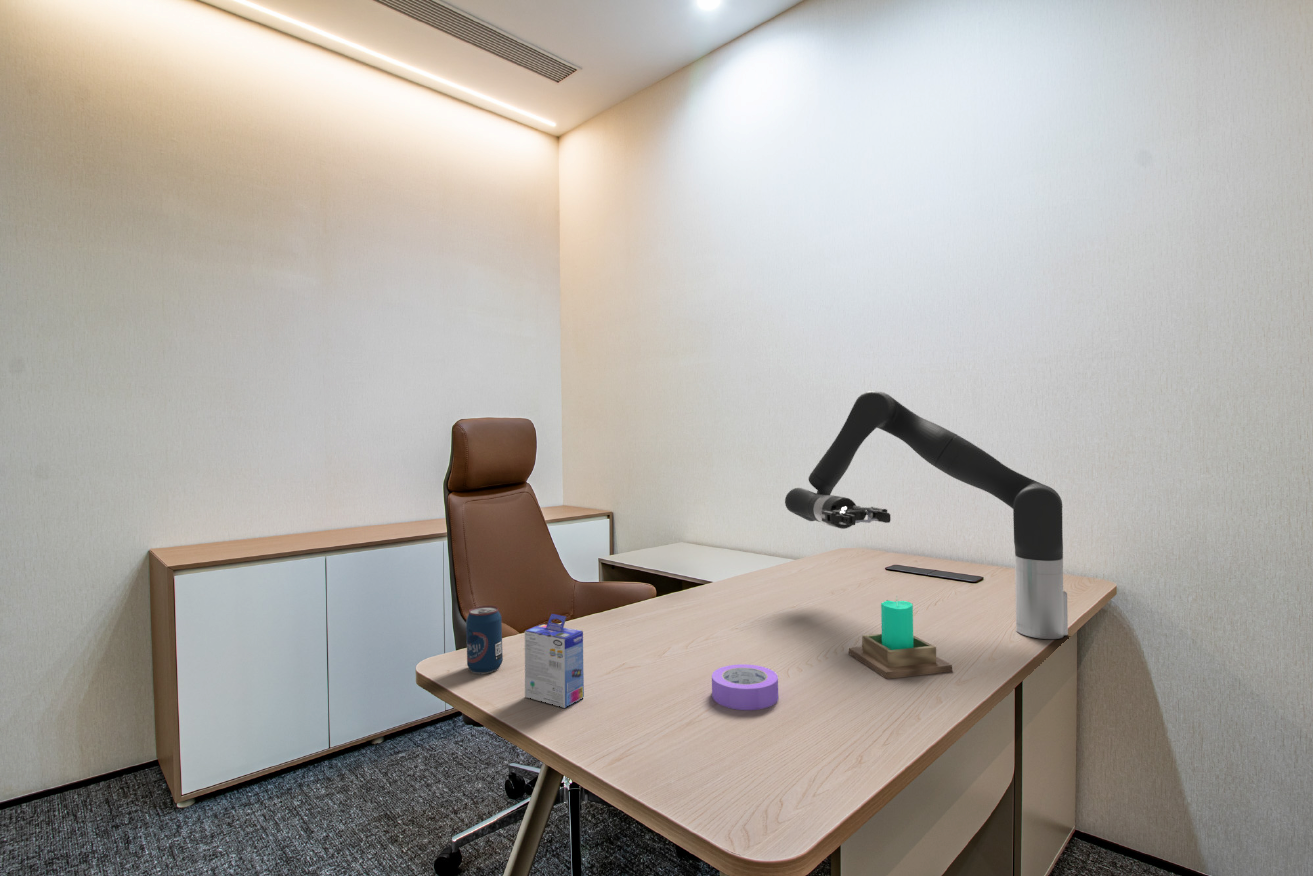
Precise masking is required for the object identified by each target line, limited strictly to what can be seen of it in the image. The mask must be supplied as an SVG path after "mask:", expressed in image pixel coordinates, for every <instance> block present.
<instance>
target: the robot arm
mask: <svg viewBox="0 0 1313 876" xmlns="http://www.w3.org/2000/svg"><path fill="white" fill-rule="evenodd" d="M841 427H842V428H840V431H839V433H838V434H837V436H836V438H835V439H834V441H833V442H832V443H831V445H830V446H829V448H828V449H827V451H826V452H825V453H824V455H823V456H822V458H820V460H819V461H818V463H817V465H816V466H815V467H814V468H813V470H812V471H811V473H810V474H809V476H808V482H809V484H810V485H811V486H812V488H814V489H816V492H813V491H810V490H809V489H806V488H802V487H795V488H792V489H791V490H790V491H789V492H788V493H787V494H786V495H785V499H784V505H785V508H786V509H787V510H788V511H789V512H791V513H792V514H793V515H796V516H798V517H800V518H802V519H803V520H806V521H809V522H815V521H816V522H819V523H822V524H824V525H826V526H830V527H833V528H837V529H841V530H842V529H843V530H844V529H849V528H851V527H853V526H856V524H859V523H860V524H861V523H865V524H870V523H872V522H881V523H884V524H889V523H891V514H890V512H888V509H887V508H882V507H881V508H880V507H875V506H870V507H867V506H865V507H864V506H860V505H856V503H855V502H854V501H853V500H852V499H851V498H848V497H846V496H845V497H844V496H840V495H839V496H838V495H832V492H833V490H834V488H835V487H836V486H837V484H838V483H839V482H840V480H841V479H842V478H843V476H844V475H845V473H846V472H847V471H848V469H849V467H850V465H851V463H852V462H853V459H854V457H855V455H856V453H857V451H858V449H859V448H860V447H861V446H862V444H863V443H864V442H865V440H866V439H867V438H868V437H869V435H871V433H873V432H874V430H876V429H880V430H881V431H884V432H886V433H887V434H890V435H891V436H894V437H896V438H897V439H899V440H901V441H902V442H904V443H905V444H906V445H907V446H909V448H911V449H912V450H913V451H914V452H915V453H916V454H917V455H919V457H921V458H922V459H924V460H925V461H926V462H927V463H928V464H930V465H931V466H933V467H935V468H936V469H938V470H939V471H941V472H943V473H945V474H946V475H948V476H950V477H952V478H953V479H956V480H958V481H959V482H962V483H964V484H967V485H969V486H972V487H974V488H977V489H979V490H981V491H984V492H986V493H988V494H990V495H992V496H993V497H996V498H997V499H998V500H999V501H1001V502H1003V504H1004V503H1005V504H1006V505H1007V506H1008V507H1009V508H1011V509H1012V511H1013V512H1012V513H1013V515H1012V516H1013V518H1012V519H1013V543H1014V554H1015V555H1014V568H1015V569H1014V570H1015V571H1014V577H1015V580H1014V581H1015V626H1016V627H1015V628H1016V629H1015V630H1016V632H1018V633H1019V634H1020V635H1023V636H1026V637H1029V638H1030V637H1031V638H1036V639H1040V640H1041V639H1043V640H1044V639H1045V640H1057V639H1058V640H1059V639H1062V638H1064V636H1068V634H1069V629H1068V628H1069V627H1068V626H1069V625H1068V621H1069V620H1068V616H1069V615H1068V593H1067V591H1065V590H1064V542H1063V540H1064V539H1063V501H1062V498H1061V496H1060V495H1059V493H1058V492H1057V491H1056V490H1055V489H1053V488H1052V487H1050V486H1048V485H1046V484H1043V483H1041V482H1039V481H1038V480H1037V481H1036V480H1034V479H1032V478H1030V477H1027V476H1025V475H1023V474H1021V473H1019V472H1017V471H1015V470H1013V469H1012V468H1010V467H1008V466H1007V465H1005V464H1004V463H1002V462H1001V461H999V460H998V459H997V458H995V457H993V456H992V455H991V454H990V453H988V452H986V451H985V450H984V449H982V448H980V447H978V446H976V445H975V444H974V443H972V442H971V441H969V440H967V439H966V438H963V437H961V436H960V435H958V434H957V433H955V432H953V431H951V430H949V429H947V428H945V427H943V426H941V425H939V424H936V423H934V422H933V421H930V420H927V419H926V418H923V417H921V416H920V415H918V414H916V413H915V412H913V411H911V410H910V409H908V408H907V407H906V406H904V405H903V404H901V402H899V401H898V400H896V399H895V398H894V397H892V396H891V395H890V394H888V393H885V392H883V391H878V390H872V391H871V390H870V391H865V392H864V393H862V394H860V395H859V396H858V397H857V398H856V400H855V402H854V404H853V406H852V408H851V409H850V412H849V413H848V416H847V418H846V420H845V422H844V424H843V425H842V426H841ZM866 517H867V519H866Z"/></svg>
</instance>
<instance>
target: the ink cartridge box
mask: <svg viewBox="0 0 1313 876" xmlns="http://www.w3.org/2000/svg"><path fill="white" fill-rule="evenodd" d="M566 619H567V616H564V615H560V614H554V613H551V615H550V616H549V619H548V621H547V624H538V625H536V626H533V627H531V628H528V629H527V630H525V631H524V697H525V698H527V699H530V698H531V699H530V700H535V701H538V702H541V701H542V702H541V703H545V702H546V704H550V705H552V704H553V706H557V707H559V706H560V707H559V708H564V709H566V708H567V706H568V707H569V705H570V706H571V704H572V705H574V704H575V703H574V702H576V703H577V701H578V700H580V699H581V698H583V697H584V698H585V684H584V683H585V679H584V675H585V674H584V631H583V630H579V629H575V628H568V627H565V623H566V621H567V620H566ZM553 620H559V621H561V623H560V624H559V623H555V622H552V621H553ZM580 701H581V700H580ZM578 702H579V701H578ZM573 703H574V704H573Z"/></svg>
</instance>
